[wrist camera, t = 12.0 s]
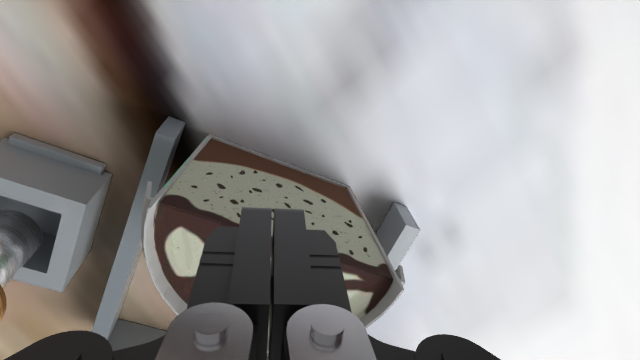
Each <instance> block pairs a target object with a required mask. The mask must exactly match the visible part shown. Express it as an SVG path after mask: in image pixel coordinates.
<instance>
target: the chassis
mask: <svg viewBox="0 0 640 360" xmlns="http://www.w3.org/2000/svg"><path fill="white" fill-rule="evenodd" d="M185 123H186V122H183V121H180V120H178V119H175V118H173V117H170V116H168V118H167V119H166V120H165V121H164V123H163V124H162V125H161V126H160V128H159V129H158V130H157V131H156V133H155V136H154V139H153V142H152V146H151V149H150V152H149V155H148V158H147V161H146V164H145V167H144V170H143V173H142V177H141V180H140V183H139V186H138V189H137V192H136V195H135V198H134V201H133V205H132V208H131V211H130V214H129V217H128V220H127V223H126V226H125V229H124V232H123V236H122V239H121V242H120V245H119V248H118V251H117V254H116V257H115V260H114V264H113V267H112V270H111V273H110V276H109V279H108V282H107V285H106V288H105V291H104V295H103V298H102V301H101V304H100V307H99V310H98V313H97V316H96V319H95V323H94V326H93V329H92V332H94V333H97V334H100V335H101V336H103V337H105V338H106V339H107V340H108V341H109V343H110V345H111V347H112V351H116V350H120V349H124V348H129V347H133V346H137V345H141V344H145V343H148V342H151V341H153V340H156V339H158V338H160V337H162V336H164V335H165V334H166V332H167V331H164V330H160V329H156V328H152V327H148V326H144V325H141V324H137V323H133V322H129V321H125V320H121V319H118V317H119V314H120V311H121V309H122V306H123V303H124V300H125V297H126V294H127V291H128V288H129V285H130V282H131V280H132V277H133V274H134V271H135V268H136V265H137V262H138V259H139V256H140V254H141V251H142V248H143V246H142V240H141V220H142V210H143V203H144V197H145V192H146V187H147V182H148V181H151V182H152V186H151V196H150V197H152V198H154V197H155V196H156V195H157V194H158V192H159V191H160V190H161V189H162V188H163V187H164V184H165V181H166V178H167V175H168V173H169V170H170V167H171V164H172V161H173V158H174V155H175V152H176V149H177V147H178V144H179V141H180V138H181V135H182V132H183V129H184V126H185ZM105 166H106V164H105V163H102V162H99V161H96V160H93V159H90V158H87V157H84V156H81V155H78V154H75V153H72V152H69V151H67V150H64V149H61V148H58V147H55V146H52V145H49V144H46V143H43V142H40V141H37V140H34V139H31V138H29V137H26V136H23V135H20V134H17V133H14V134H13V135H11V136H9V139H7V138H2V139H1V140H0V210H15V211H19V212H22V213H24V214H26V215H28V216H29V217H31V218H32V219H33V220H34V221H35V222H36V223H37V224H38V225H39V227H40V229H41V231H42V235H43V240H42V244H41V246H40V247H39V248H38V250H37V251H36V252H35V253H34V254H33V255H32V256H31V257H30V259H29V260H28V261H27V262H26V263H25V264H24V265H23V266H22V268H21V269H20V270H19V271H18V272H17V273H16V274H15V275H14V276H13V278H12V279H13V280H17V281H21V282H25V283H28V284H32V285H36V286H40V287H43V288H47V289H51V290H55V291H59V292H63V290H64V289H65V287H66V286H67V284H68V283H69V282H70V280H71V279H72V277H73V276H74V274H75V273H76V271H77V270H78V268H79V267H80V266H81V264H82V263H83V261H84V260H85V258H86V257H87V255H88V254H89V252H90V249H91V245H92V242H93V239H94V235H95V232H96V228H97V225H98V222H99V218H100V215H101V212H102V208H103V205H104V201H105V198H106V195H107V191H108V188H109V184H110V181H111V178H112V174H111V173H108V172H105V171H104V169H105ZM419 231H420V229H419V227H418V225H417V224H416V222H415V220H414V218H413V217H412V215H411V213H410V212H409V210H408V208H407V207H406V206H403V205H400V204H398V203H395V202H394V203H393V204H392V206H391V208H390V210H389V211H388V213H387V215H386V217H385V218H384V220H383V222H382V224H381V225H380V227H379V229H378V231H377V232H376V234H375V235H376V236H377V238H378V240H379V242H380V244H381V246H382V248H383V249H384V251H385V253H386V255H387V257H388V259H389V261H390V263H391V264H392V266H393V268H394V270H396V269H397V268H398V266H399V264H400V263H401V261H402V259H403V258H404V256H405V254H406V253H407V251H408V250H409V248H410V246H411V245H412V243H413V241H414V240H415V238H416V236H417V235H418V233H419ZM267 360H268V357H267Z"/></svg>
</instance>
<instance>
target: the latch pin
mask: <svg viewBox="0 0 640 360" xmlns="http://www.w3.org/2000/svg"><path fill="white" fill-rule="evenodd" d="M42 240H43V235H42V231H41V229H40V227H39V225H38V224H37V223H36V222H35V221H34V220H33V219H32V218H31V217H29V216H28V215H26V214H24V213H22V212H19V211H15V210H0V320H1V319H2V317H3V316H4V314H5V310H6V296H5V293H4V290H3V288H4V287H5V285H6V284H7V283H8V282H9V281H10V280H11V279H12V278H13V276H14V275H15V274H16V273H17V272H18V271H19V270H20V269H21V268H22V266H23V265H24V264H25V263H26V262H27V261H28V260H29V259H30V257H31V256H32V255H33V254H34V253H35V252H36V251H37V250H38V248H39V247H40V246H41V244H42Z"/></svg>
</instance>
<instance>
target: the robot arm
mask: <svg viewBox="0 0 640 360" xmlns="http://www.w3.org/2000/svg"><path fill="white" fill-rule="evenodd" d="M271 224H272V208H251V207H242V210H241V216H240V223H239V227H220V226H218V227H217V228H216V229H215V230H214V231H213V232H212V233H211V234H210V235H209V236H208V237H206V240H205V244H204V247H203V251H202V255H201V258H200V262H199V266H198V269H197V273H196V276H195V280H194V284H193V287H192V291H191V294H190V298H189V302H188V305H187V309H186V310H185V311H183V312H182V313H180V314H179V315H178V316H177V317H176V318H175V319H174V320H173V321H172V322H171V324H170V326H169V328H168V330H167V332H166V334H165V335H164V336H162V337H160V338H158V339H156V340H153V341H151V342H148V343H145V344H141V345H137V346H133V347H129V348H124V349H120V350H116V351H112V347H111V345H110V343H109V341H108V340H107V339H106V338H105V337H103V336H101V335H100V334H97V333H94V332H89V331H68V332H62V333H58V334H55V335H51V336H49V337H46V338H43V339H41V340H39V341H37V342H35V343H33V344H32V345H30V346H28V347H26V348H24V349H23V350H21V351H19V352H17V353H15V354H14V355H12V356H10V357H8V358H6V359H4V360H267V344H268V328H269V352H268V360H500V359H499V358H497V357H496V356H494V355H493V354H491V353H490V352H488V351H486V350H485V349H483V348H482V347H480V346H479V345H477V344H475V343H473V342H471V341H469V340H467V339H464V338H461V337H458V336H454V335H446V334H442V335H434V336H430V337H428V338H426V339H424V340H423V341H422V342H421V343H420V344H419V345H418V347H417V349H416V352H415V351H411V350H407V349H403V348H400V347H396V346H392V345H389V344H386V343H383V342H381V341H378V340H376V339H375V338H373V337H371V336H370V335H368V334H367V331H366V329H365V327H364V325H363V323H362V322H361V320H360V319H359V318H358V317H357V316H356V315H354V314H353V313H352V311H351V307H350V302H349V298H348V294H347V289H346V285H345V281H344V276H343V272H342V270H341V264H340V259H339V255H338V251H337V246H336V242H335V241H334V240H333V239H332V238H331V237H330V236H329V234H328V233H327V232H326V231H325V230H306V223H305V215H304V210H301V209H277V208H274V220H273V236H272V253H271Z"/></svg>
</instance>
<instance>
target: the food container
mask: <svg viewBox="0 0 640 360" xmlns="http://www.w3.org/2000/svg"><path fill="white" fill-rule="evenodd" d="M151 186H152V182H151V181H148V182H147V187H146V192H145V197H144V203H143V210H142V220H141V240H142V246H143V253H144V257H145V260H146V264H147V267H148V270H149V272H150V275H151V278H152V281H153V283H154V285H155V286H156V288H157V290H158V292H159V293H160V295H161V297H162V298H163V300H164V301H165V302H166V303H167V304H168V306H169V307H170V308H171V309H172V310H173V312H174V313H175V314H177V315H179V314H180V313H182V312H183V311H185V310H186V309H187V305H188V302H189V298H190V294H191V291H192V287H193V284H194V280H195V276H196V273H197V269H198V266H199V262H200V258H201V255H202V251H203V247H204V244H205V240H206V237H208V236H209V235H210V234H211V233H212V232H213V231H214V230H215V229H216V228H217V227H218V226H220V227H239V223H240V216H241V210H242V207H251V208H272V224H271V253H272V236H273V220H274V208H277V209H301V210H304V215H305V223H306V230H325V231H326V232H327V233H328V234H329V236H330V237H331V238H332V239H333V240H334V241H335V242H336V246H337V251H338V255H339V259H340V264H341V270H342V272H343V276H344V281H345V285H346V289H347V294H348V298H349V302H350V307H351V311H352V313H353V314H354V315H356V316H357V317H358V318H359V319H360V320H361V322H362V323H363V325H364V327H365V328H367V327H368V326H369V325H371V324H372V323H373V322H375V321H376V320H377V319H379V318H380V317H381V316H382V315H383V314H384V313H385V312H386V311H387V310H388V309H389V308H390V307H391V306H392V305H393V304H394V303H395V301H396V300H397V299H398V297H399V296H400V295H401V293H402V292H403V291H404V289H403V285H404V283H405V279H404V274H403V268H402V266H400V265H399V266H398V268H397V269H396V270H394V268H393V266H392V264H391V263H390V261H389V259H388V257H387V255H386V253H385V251H384V249H383V248H382V246H381V244H380V242H379V240H378V238H377V236H376V235H375V233H374V231H373V229H372V227H371V225H370V223H369V222H368V220H367V218H366V216H365V214H364V212H363V210H362V209H361V207H360V205H359V203H358V201H357V199H356V197H355V195H354V194H353V192H352V190H351V188H350V186H347V185H344V184H342V183H339V182H336V181H334V180H331V179H328V178H326V177H323V176H320V175H318V174H315V173H312V172H310V171H307V170H304V169H302V168H299V167H296V166H294V165H291V164H288V163H286V162H283V161H280V160H278V159H275V158H272V157H270V156H267V155H264V154H262V153H259V152H256V151H254V150H251V149H248V148H246V147H243V146H240V145H238V144H235V143H233V142H230V141H227V140H225V139H222V138H219V137H217V136H214V135H211V134H208V136H207V137H206V138H205V139H204V140H203V141H202V142H201V144H200V145H199V146H198V147H197V148H196V149H195V151H194V152H193V153H192V154H191V155H190V156H189V158H188V159H187V160H186V161H185V162H184V163H183V165H182V166H181V167H180V168H179V169H178V170H177V172H176V173H175V174H174V175H173V176H172V177H171V178H170V180H169V181H168V182H167V183H166V184H165V185H164V187H163V188H162V189H161V190H160V191H159V192H158V194H157V195H156V196H155V197H154V198H152V197H150V196H151ZM268 352H269V328H268V344H267V353H268Z"/></svg>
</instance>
